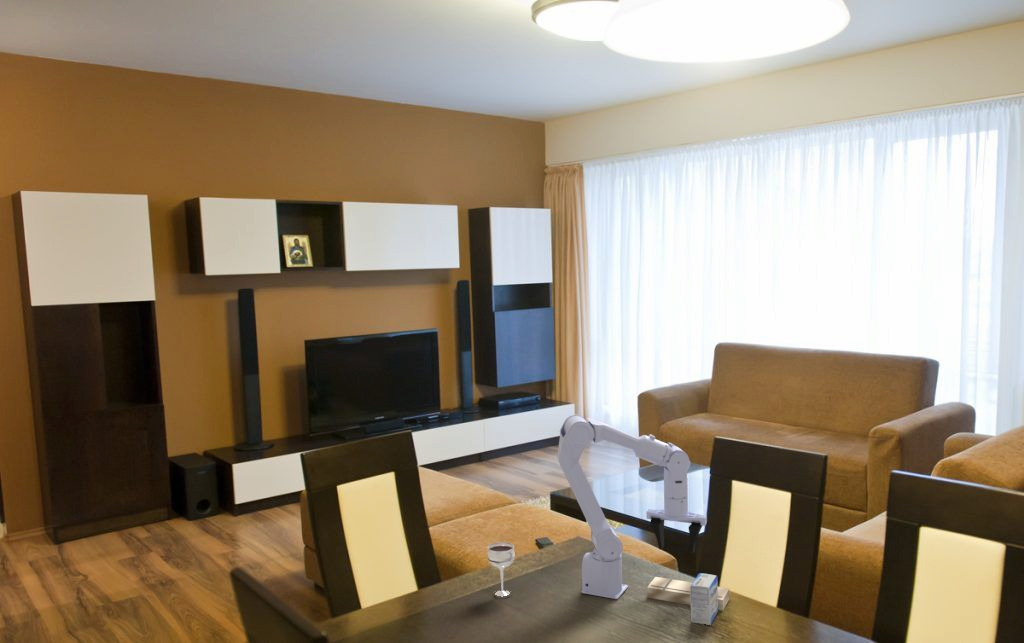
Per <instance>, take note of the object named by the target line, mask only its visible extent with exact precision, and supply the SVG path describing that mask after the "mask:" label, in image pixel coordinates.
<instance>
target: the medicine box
mask: <svg viewBox="0 0 1024 643" xmlns="http://www.w3.org/2000/svg"><path fill="white" fill-rule="evenodd" d="M718 585H719V584H718V575H715V574H709V573H701V572H700V573H698V574H697V576H696V577H695V579H694V580H693V582H692V585H691V586H690V600H691V605H690V622H691V623H694V624H698V623H699V625H704V624H706V625H705V626H709V625H710V626H711V625H712V623H713V621H714V620H715V618H716V616H717V614H718V613H719V610H718V587H719V586H718Z"/></svg>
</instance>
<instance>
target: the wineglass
mask: <svg viewBox="0 0 1024 643" xmlns="http://www.w3.org/2000/svg"><path fill="white" fill-rule="evenodd" d="M514 549H515V545H514V544H513V543H511V542H506V541H498V542H493V543H490V544H489V545H488V546H487V550H488V552H487V560H488V562H489V564H490V565H492V566H493V567H494V568H497V569H498V570H499V573H500V587H501V591H500V590H497V592H496V591H495V592H496V593H495V595H497V596H501V597H503V596H507V595H509V594H510V592H511V591H510V592H509V590H506V589H505V590H506V591H505V590H504V571H505V569H506V568H508V567H509V566H511V564H513V563H514V561H515V558H516V553H515V550H514Z"/></svg>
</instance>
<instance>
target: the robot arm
mask: <svg viewBox="0 0 1024 643" xmlns="http://www.w3.org/2000/svg"><path fill="white" fill-rule="evenodd" d="M587 420H588V421H587ZM558 441H559V442H558V450H557V457H556V458H557V461H558V463H559V465H560V467H561V470H562V472H563V474H564V476H565V478H566V480H567V482H568V484H569V486H570V489H571V491H572V493H573V495H574V496H575V499H576V501H577V503H578V505H579V507H580V509H581V512H582V513H583V516H584V517H585V518H584V519H585V520H586V522H587V525H588V526H589V529H590V539H591V542H592V544H593V545H594V546H595V547H594V548H593V550H592V552H586V553H585V554H584V555H583V559H582V563H581V579H582V580H581V582H582V583H581V586H582V589H581V593H582V594H584V595H585V594H586V595H591V596H596V597H597V596H598V597H603V598H607V599H608V598H609V599H612V600H613V599H614V600H618V599H619V598H620V597H621V596H622V595H623V593H625V591H626V590H627V589H628V588H629V585H628V584H623V562H622V561H623V560H622V559H623V558H622V556H623V555H622V553H623V551H624V550H623V549H624V546H623V542H622V540H621V539H620V538H619V536H618V534H617V533H616V530H615V528H614V527H613V526H612V525H611V524H609V522H608V520H607V518H606V516H605V514H604V512H603V510H602V508H601V506H600V504H599V502H598V500H597V497H596V495H595V493H594V490H593V489H592V486H591V485H590V483H589V480H588V477H587V476H586V474H585V472H584V470H583V467H582V465H581V463H580V459H581V456H582V455H583V453H584V451H585V450H586V448H587V447H589V446H590V444H591V443H594V444H597V443H601V442H602V441H608V442H610V443H613V444H616V445H619V446H622V447H624V448H627V449H631V450H632V451H634V455H635V457H637V458H639V459H641V460H644V461H646V462H649V463H651V464H654V465H657V466H659V467H663V499H664V500H663V501H664V502H663V505H664V507H663V508H664V509H651V508H650V509H647V510H646V520H650V521H649V525H650V527H651V529H652V531H653V533H654V535H655V539H656V540H657V545H658V550H663V549H664V547H665V535H664V534H665V533H664V529H665V521H670V522H677V523H678V522H680V523H687V524H690V525H689V526H688V533H689V534H688V535H689V554H692V555H693V554H694V553H695V551H696V543H697V540H698V537H699V534H700V532H701V529H702V527H704V526H706V525H707V522H708V517H707V516H708V515H704V514H699V513H694V512H691V511H689V500H688V499H689V495H688V494H689V493H688V491H689V490H688V489H689V488H688V486H689V485H688V481H689V480H688V470H689V469H690V467H691V463H692V462H691V461H690V457H689V454H687V453H686V452H685V451H684V450H682V449H681V448H680V447H678V446H677V445H675V444H673V443H672V442H669V441H668V442H667V443H666V442H663V441H661V440H659V439H656V436H654V435H653V434H651V433H650V434H649V435H646V434H642V435H641V436H638V437H637V436H635V435H632V434H630V433H628V432H626V431H624V430H621V429H619V428H618V427H617V428H616V427H614V426H612V425H610V424H607V423H605V422H602V421H599V420H597V419H593V418H591V417H586V418H585V417H584V416H583V415H580V414H572V415H569V416H568V417H567V418H566V419H565V420H564V422H563V424H562V426H561V428H560V430H559V440H558Z"/></svg>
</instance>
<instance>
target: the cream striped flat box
mask: <svg viewBox="0 0 1024 643" xmlns="http://www.w3.org/2000/svg"><path fill="white" fill-rule="evenodd" d="M692 583H693V582H690V581H685V580H679V579H673V578H667V577H666V578H665V577H661V576H660V577H658V576H655V577H654V578H653V579H652V581H651V582H650V583H649V584H648V585H647V587H646V590H647V591H646V596H647V598H648V599H649V598H650V599H653V600H654V599H655V600H660V601H666V602H672V603H678V604H683V605H689V606H691V600H690V586H691V585H692ZM729 600H730V588H728V587H722V586H718V611H724V609H725V608H726V606H727V604H728V602H729Z"/></svg>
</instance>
